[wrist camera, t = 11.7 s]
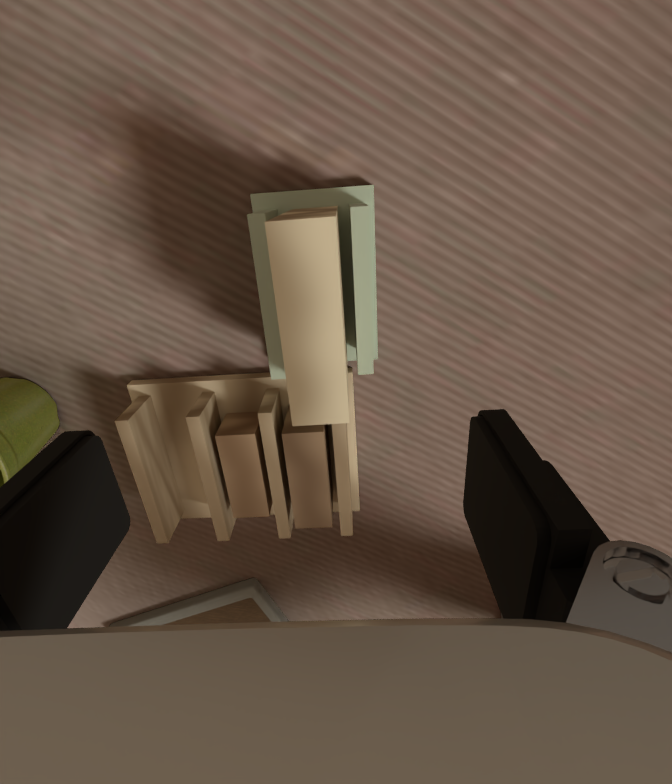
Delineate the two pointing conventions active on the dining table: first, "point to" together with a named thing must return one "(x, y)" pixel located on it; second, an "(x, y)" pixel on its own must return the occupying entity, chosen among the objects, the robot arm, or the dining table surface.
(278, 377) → the green stand
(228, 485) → the walnut offcut
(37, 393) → the plant pot
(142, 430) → the offcut rack
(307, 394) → the maple block
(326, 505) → the walnut offcut
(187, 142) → the dining table surface
